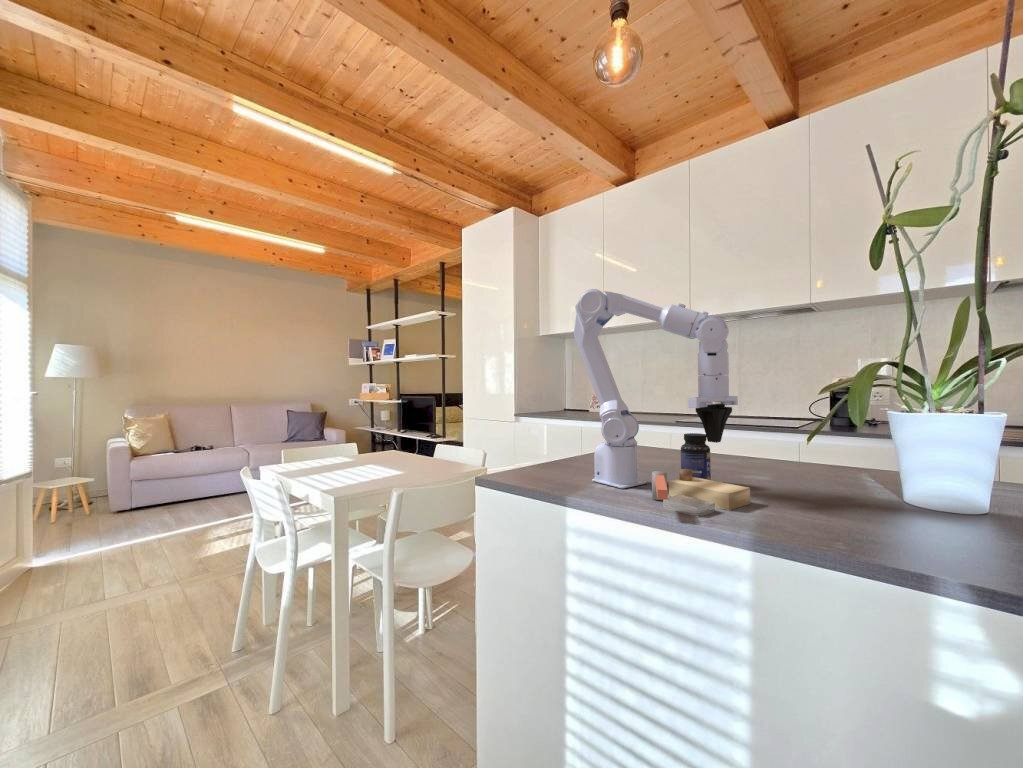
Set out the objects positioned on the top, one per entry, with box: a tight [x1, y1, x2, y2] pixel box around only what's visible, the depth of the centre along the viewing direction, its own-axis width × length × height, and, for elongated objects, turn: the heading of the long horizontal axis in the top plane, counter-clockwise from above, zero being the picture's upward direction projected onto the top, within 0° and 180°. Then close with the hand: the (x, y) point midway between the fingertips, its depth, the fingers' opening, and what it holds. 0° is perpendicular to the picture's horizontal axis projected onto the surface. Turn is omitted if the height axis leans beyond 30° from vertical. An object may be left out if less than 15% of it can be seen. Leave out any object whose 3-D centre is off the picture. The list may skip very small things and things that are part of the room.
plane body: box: [668, 468, 751, 511], centre depth 85 cm, size 12×7×5 cm, turn 33°
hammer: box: [651, 470, 669, 501], centre depth 80 cm, size 14×3×5 cm, turn 164°
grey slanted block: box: [662, 495, 716, 518], centre depth 79 cm, size 7×5×2 cm
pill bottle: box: [680, 432, 712, 480], centre depth 98 cm, size 6×6×11 cm
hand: (714, 441), depth 90 cm, fingers closed
